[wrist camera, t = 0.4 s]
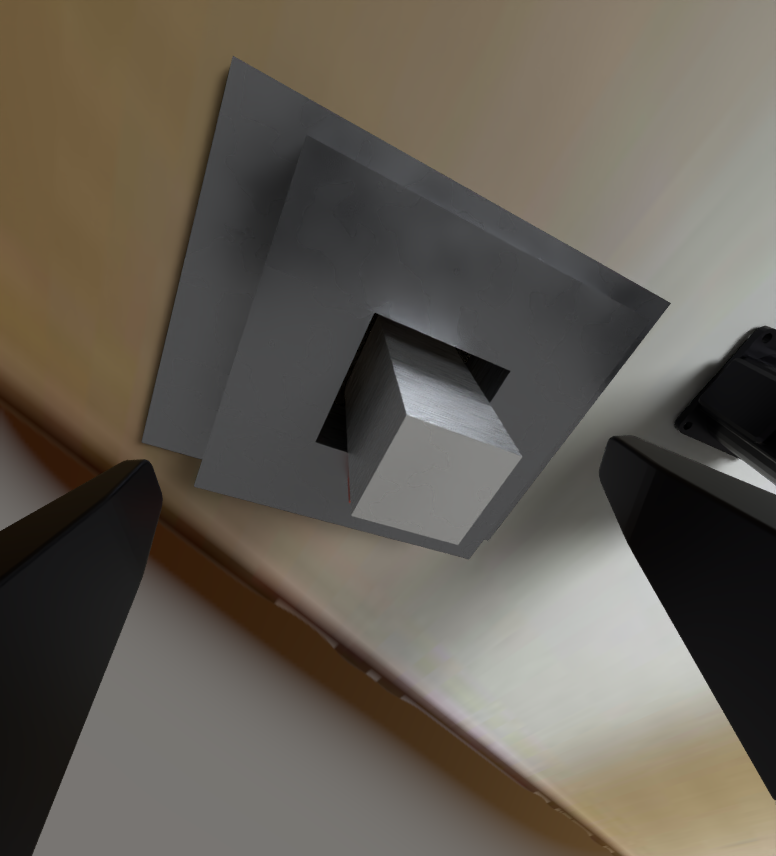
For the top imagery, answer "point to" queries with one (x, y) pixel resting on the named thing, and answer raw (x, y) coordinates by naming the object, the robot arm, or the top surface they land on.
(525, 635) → the top surface
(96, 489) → the robot arm
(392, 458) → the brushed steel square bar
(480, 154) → the top surface
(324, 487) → the stand base
